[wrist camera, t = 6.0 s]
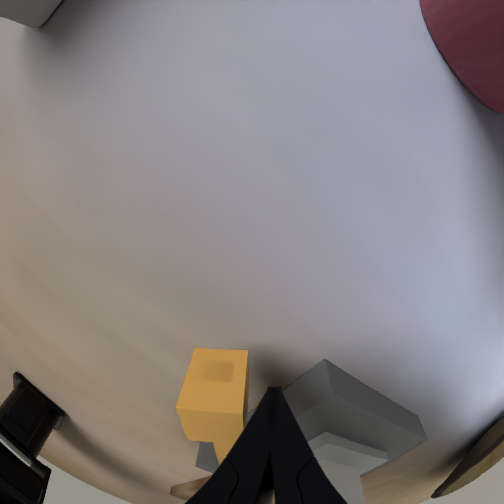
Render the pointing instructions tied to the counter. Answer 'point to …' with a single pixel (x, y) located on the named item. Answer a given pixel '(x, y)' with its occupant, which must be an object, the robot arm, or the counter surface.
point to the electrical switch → (28, 11)
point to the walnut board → (191, 489)
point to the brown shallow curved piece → (476, 460)
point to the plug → (345, 463)
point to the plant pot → (471, 43)
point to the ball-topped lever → (215, 398)
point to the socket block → (341, 415)
